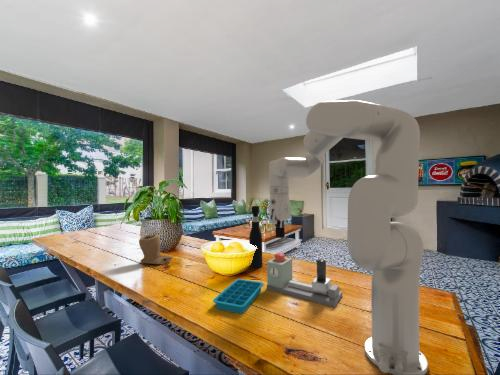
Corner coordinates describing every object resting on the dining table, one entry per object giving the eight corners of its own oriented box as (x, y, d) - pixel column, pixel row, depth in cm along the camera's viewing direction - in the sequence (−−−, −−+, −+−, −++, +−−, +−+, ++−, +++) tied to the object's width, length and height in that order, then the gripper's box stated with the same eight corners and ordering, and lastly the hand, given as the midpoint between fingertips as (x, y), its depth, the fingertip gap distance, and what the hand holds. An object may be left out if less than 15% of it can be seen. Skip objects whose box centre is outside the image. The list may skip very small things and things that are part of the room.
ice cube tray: (264, 290, 94) (264, 282, 94) (243, 316, 76) (243, 307, 75) (237, 286, 99) (237, 278, 99) (211, 310, 80) (211, 301, 80)
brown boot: (134, 265, 125) (133, 236, 125) (151, 258, 136) (151, 231, 136) (157, 268, 120) (156, 238, 119) (173, 261, 131) (172, 233, 130)
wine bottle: (261, 268, 118) (260, 206, 117) (248, 267, 119) (247, 206, 118) (263, 264, 124) (262, 205, 123) (251, 263, 125) (250, 205, 125)
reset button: (282, 272, 94) (282, 256, 94) (273, 270, 96) (272, 255, 96) (286, 269, 97) (286, 254, 97) (277, 267, 100) (277, 252, 100)
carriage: (325, 296, 84) (325, 264, 83) (311, 292, 86) (311, 261, 86) (330, 289, 88) (330, 259, 88) (317, 286, 91) (317, 257, 91)
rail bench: (334, 307, 80) (334, 275, 80) (266, 289, 94) (266, 262, 94) (342, 295, 88) (342, 266, 88) (278, 280, 103) (278, 255, 103)
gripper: (278, 191, 88) (279, 242, 88) (295, 190, 100) (296, 235, 100) (261, 191, 92) (262, 240, 92) (279, 191, 105) (280, 233, 105)
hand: (280, 237), depth 96 cm, fingers closed
